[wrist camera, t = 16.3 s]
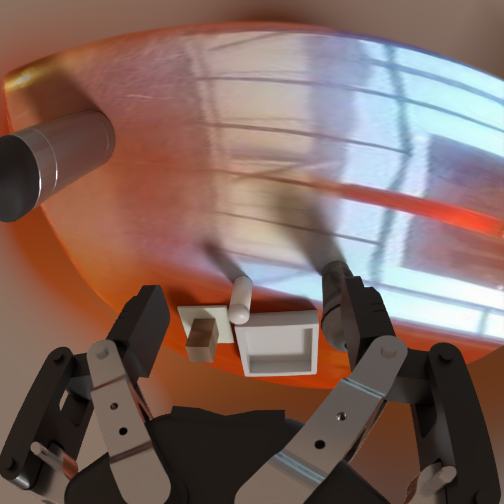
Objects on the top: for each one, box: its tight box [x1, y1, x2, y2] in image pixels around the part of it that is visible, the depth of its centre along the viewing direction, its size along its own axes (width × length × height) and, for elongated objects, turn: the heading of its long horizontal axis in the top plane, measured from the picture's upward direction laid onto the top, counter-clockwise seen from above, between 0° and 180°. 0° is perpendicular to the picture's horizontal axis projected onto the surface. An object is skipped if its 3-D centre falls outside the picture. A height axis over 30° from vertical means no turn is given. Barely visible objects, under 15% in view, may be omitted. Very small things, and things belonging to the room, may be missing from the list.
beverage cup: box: [321, 261, 353, 352], centre depth 39 cm, size 7×7×20 cm
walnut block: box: [185, 318, 219, 363], centre depth 52 cm, size 4×4×7 cm
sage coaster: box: [177, 305, 234, 343], centre depth 55 cm, size 9×9×1 cm
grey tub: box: [235, 310, 319, 376], centre depth 55 cm, size 14×14×4 cm
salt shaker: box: [227, 276, 253, 324], centre depth 47 cm, size 3×3×8 cm
